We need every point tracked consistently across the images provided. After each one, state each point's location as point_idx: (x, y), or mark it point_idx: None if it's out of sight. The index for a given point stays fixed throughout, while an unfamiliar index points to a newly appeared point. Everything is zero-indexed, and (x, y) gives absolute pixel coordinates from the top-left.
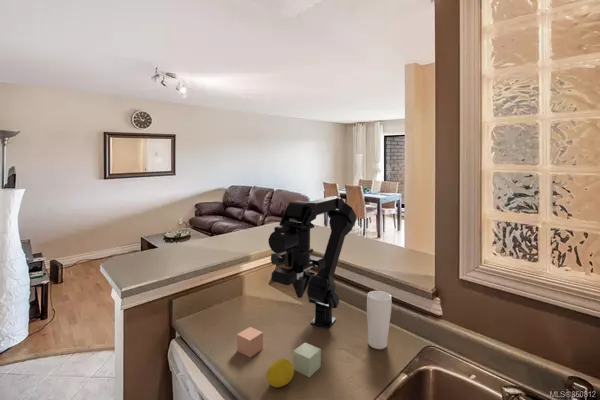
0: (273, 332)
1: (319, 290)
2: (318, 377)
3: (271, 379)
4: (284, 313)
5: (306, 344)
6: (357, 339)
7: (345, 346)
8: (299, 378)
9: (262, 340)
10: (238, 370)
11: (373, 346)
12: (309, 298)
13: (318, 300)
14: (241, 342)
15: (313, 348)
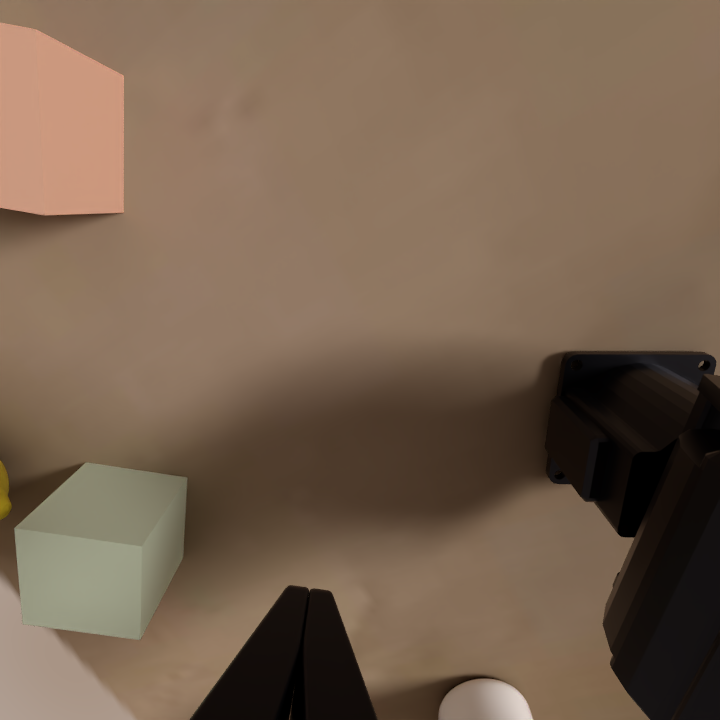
0: (332, 161)
1: (690, 699)
2: None
3: None
4: (659, 68)
5: (126, 563)
6: (491, 628)
7: (401, 599)
8: None
9: (83, 213)
10: None
11: (440, 711)
12: (678, 438)
13: (628, 559)
14: None
15: (118, 608)
